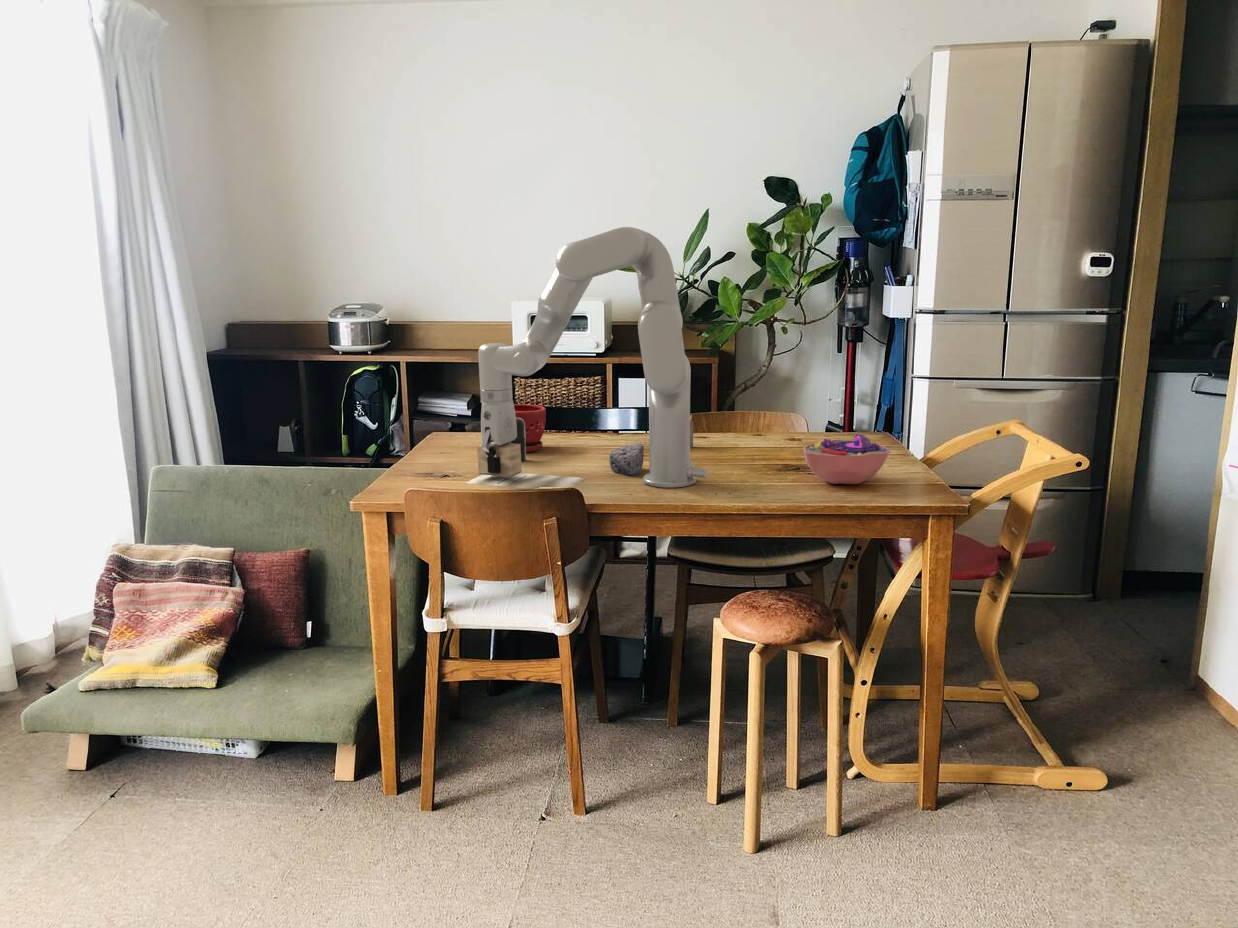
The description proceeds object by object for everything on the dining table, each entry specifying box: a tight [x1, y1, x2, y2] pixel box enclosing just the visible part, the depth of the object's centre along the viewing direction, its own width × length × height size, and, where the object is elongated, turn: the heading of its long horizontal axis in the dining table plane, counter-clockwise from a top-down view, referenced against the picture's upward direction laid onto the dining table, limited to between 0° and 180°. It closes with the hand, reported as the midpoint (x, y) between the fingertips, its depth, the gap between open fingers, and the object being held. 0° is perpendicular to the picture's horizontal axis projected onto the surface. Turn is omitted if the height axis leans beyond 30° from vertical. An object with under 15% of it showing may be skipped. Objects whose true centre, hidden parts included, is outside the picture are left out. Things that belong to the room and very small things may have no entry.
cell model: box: [802, 433, 892, 485], centre depth 219 cm, size 17×20×11 cm
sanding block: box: [476, 442, 523, 477], centre depth 228 cm, size 9×5×7 cm, turn 69°
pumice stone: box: [609, 443, 645, 477], centre depth 233 cm, size 10×8×10 cm
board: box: [464, 472, 587, 489], centre depth 226 cm, size 26×13×1 cm, turn 69°
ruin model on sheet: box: [690, 414, 694, 450], centre depth 260 cm, size 11×3×10 cm, turn 78°
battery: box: [513, 418, 527, 462], centre depth 246 cm, size 7×4×11 cm, turn 86°
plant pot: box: [514, 403, 547, 453], centre depth 260 cm, size 13×13×12 cm
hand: (500, 469), depth 228 cm, fingers closed on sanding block, 5 cm apart
